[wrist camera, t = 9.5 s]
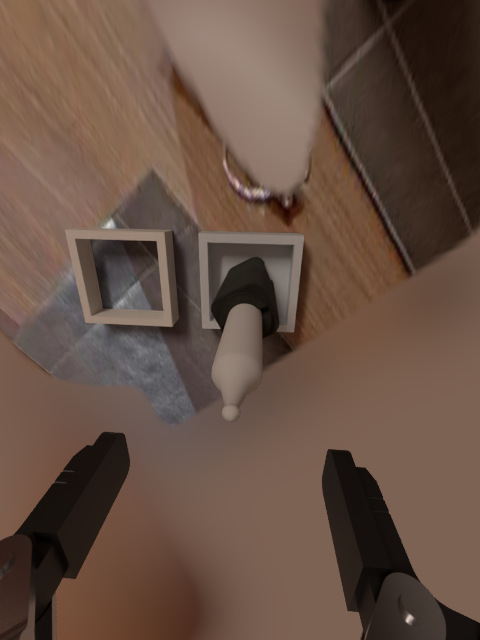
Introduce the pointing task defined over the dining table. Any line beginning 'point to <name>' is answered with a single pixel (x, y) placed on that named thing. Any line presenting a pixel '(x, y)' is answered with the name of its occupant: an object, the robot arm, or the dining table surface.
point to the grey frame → (90, 286)
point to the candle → (242, 331)
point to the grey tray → (238, 247)
